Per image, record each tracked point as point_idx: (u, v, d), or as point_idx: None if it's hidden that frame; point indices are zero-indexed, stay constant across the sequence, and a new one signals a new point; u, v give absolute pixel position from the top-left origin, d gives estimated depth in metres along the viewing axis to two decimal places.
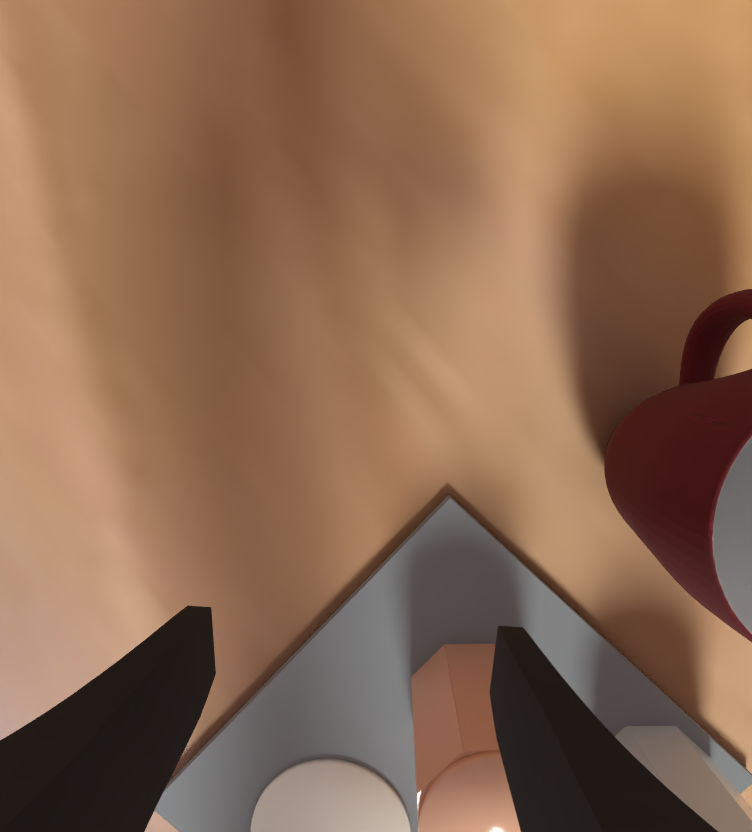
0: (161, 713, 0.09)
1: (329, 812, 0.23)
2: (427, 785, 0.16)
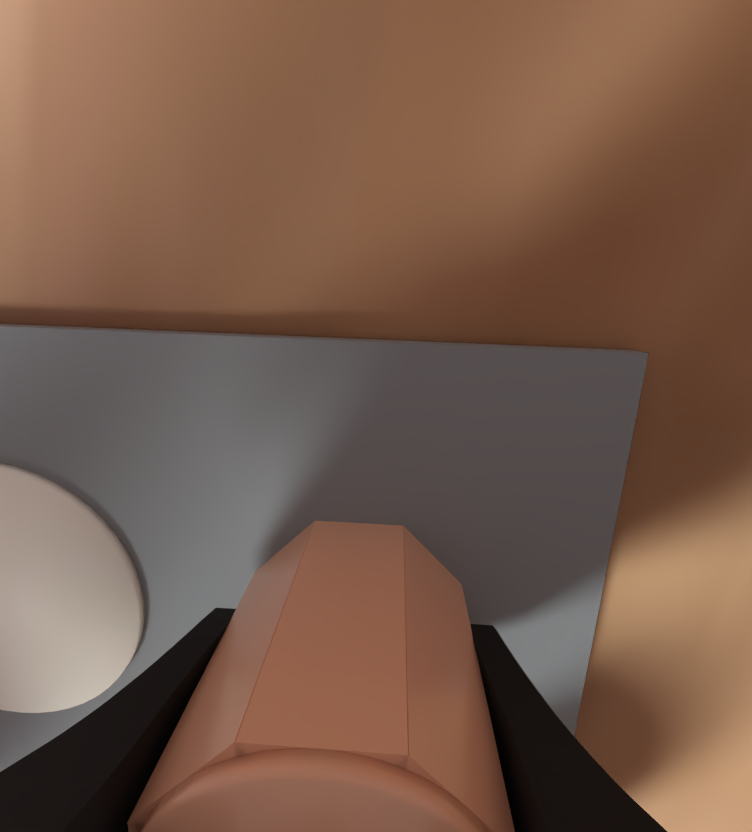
0: None
1: (26, 570, 0.12)
2: (270, 746, 0.06)
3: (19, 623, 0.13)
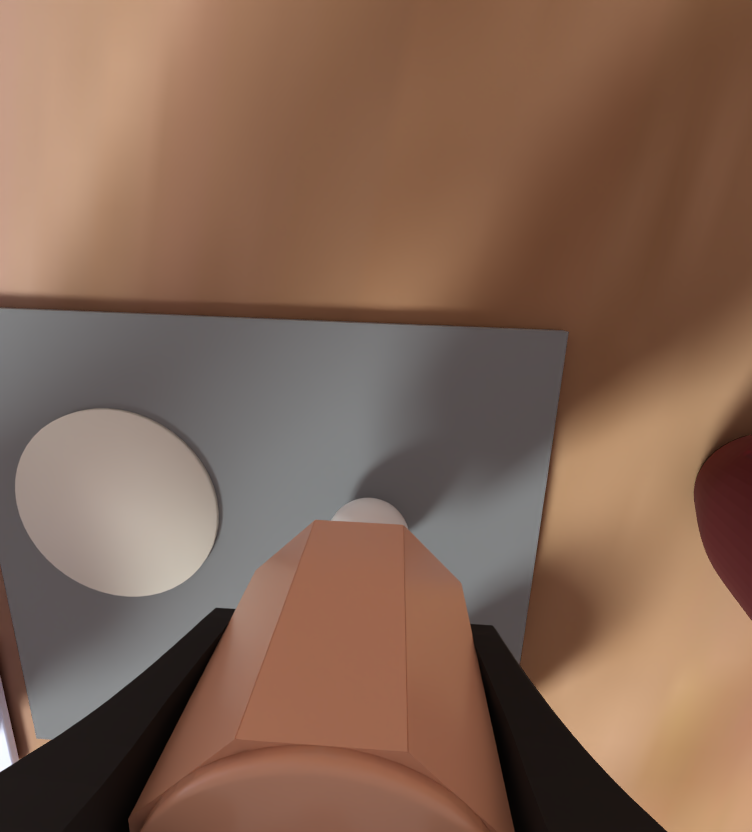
0: None
1: (137, 487, 0.18)
2: (270, 743, 0.06)
3: (129, 527, 0.18)
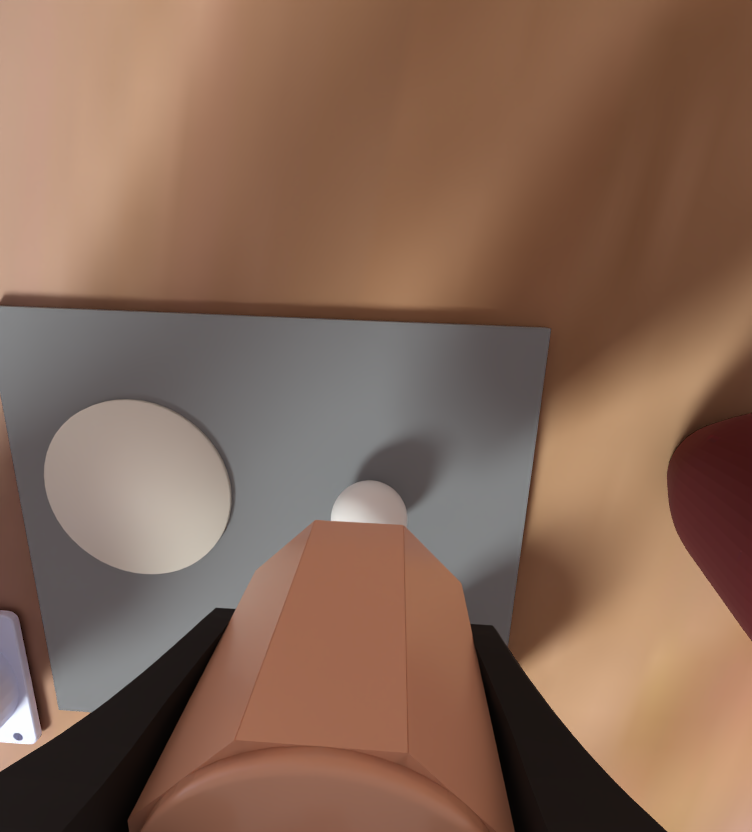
0: None
1: (157, 472, 0.19)
2: (270, 744, 0.06)
3: (149, 509, 0.20)
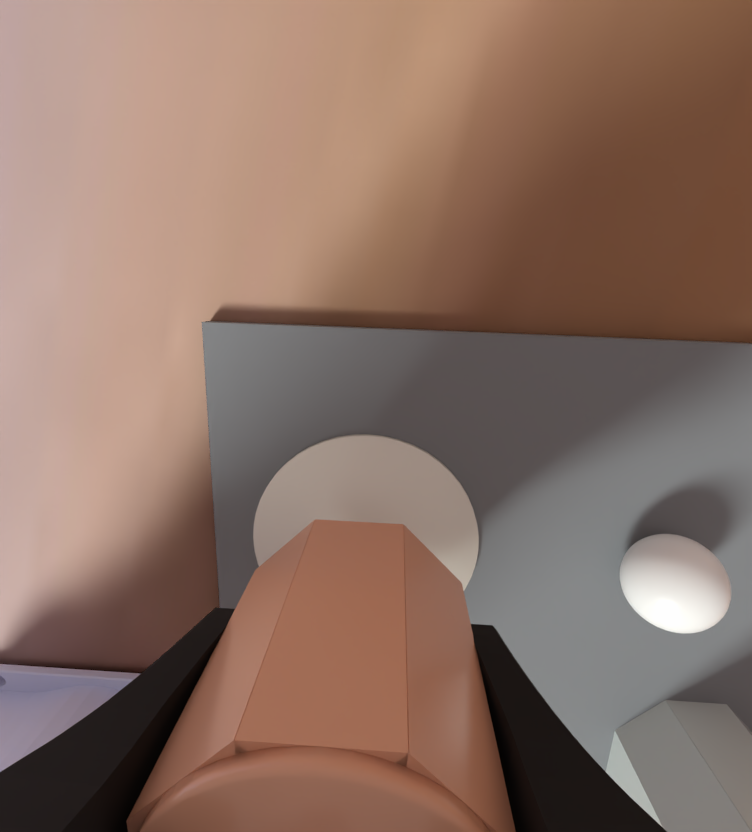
0: None
1: (394, 521, 0.16)
2: (270, 744, 0.06)
3: None
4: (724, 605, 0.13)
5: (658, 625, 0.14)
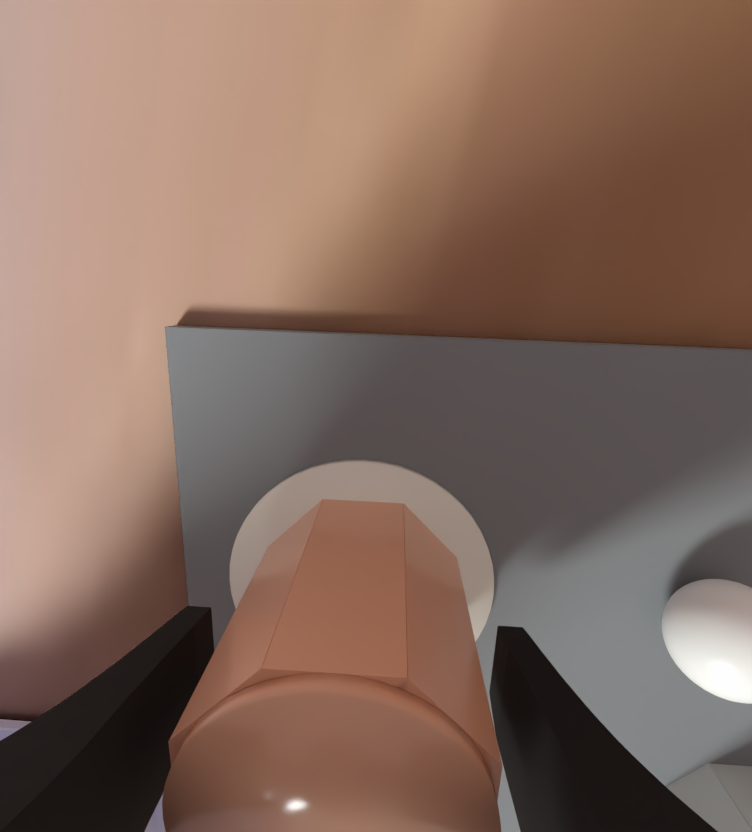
0: (161, 713, 0.09)
1: None
2: (291, 672, 0.07)
3: None
4: None
5: (712, 692, 0.12)
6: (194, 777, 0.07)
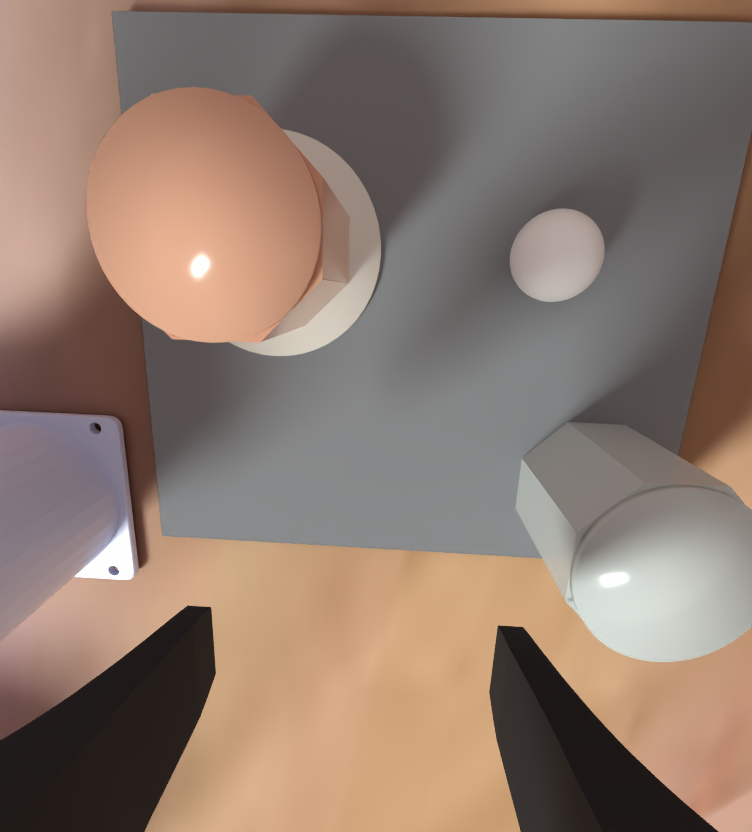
0: (161, 713, 0.09)
1: None
2: None
3: None
4: (593, 248, 0.14)
5: (538, 286, 0.15)
6: (107, 176, 0.11)
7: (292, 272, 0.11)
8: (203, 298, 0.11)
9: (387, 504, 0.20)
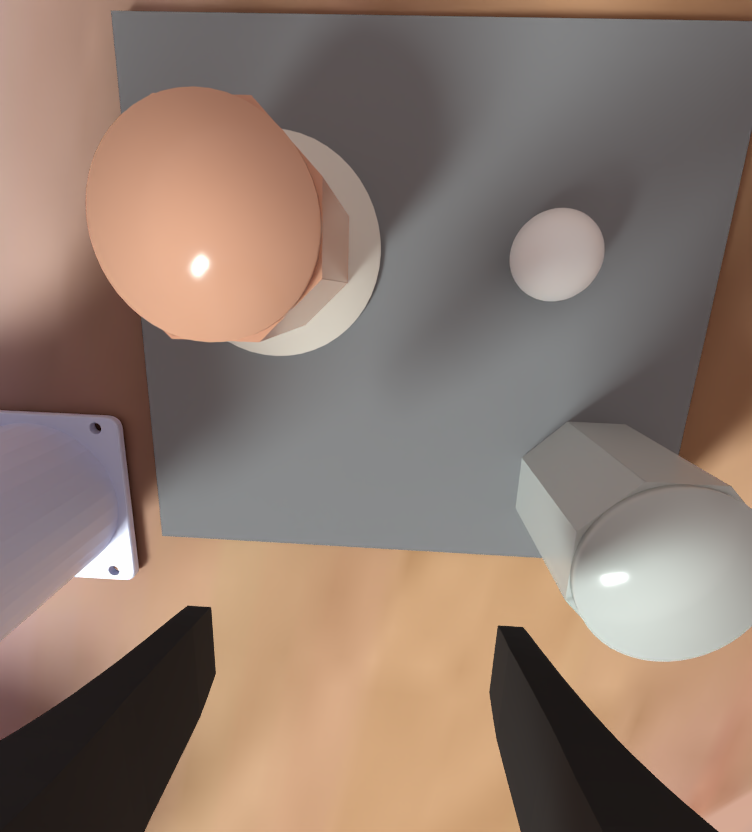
0: (161, 713, 0.09)
1: None
2: None
3: None
4: (593, 247, 0.14)
5: (537, 285, 0.15)
6: (106, 176, 0.11)
7: (292, 271, 0.11)
8: (203, 297, 0.11)
9: (387, 504, 0.20)
